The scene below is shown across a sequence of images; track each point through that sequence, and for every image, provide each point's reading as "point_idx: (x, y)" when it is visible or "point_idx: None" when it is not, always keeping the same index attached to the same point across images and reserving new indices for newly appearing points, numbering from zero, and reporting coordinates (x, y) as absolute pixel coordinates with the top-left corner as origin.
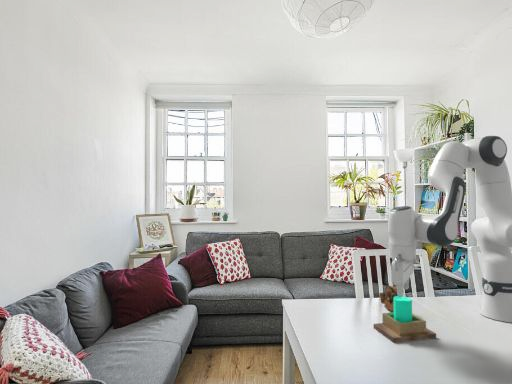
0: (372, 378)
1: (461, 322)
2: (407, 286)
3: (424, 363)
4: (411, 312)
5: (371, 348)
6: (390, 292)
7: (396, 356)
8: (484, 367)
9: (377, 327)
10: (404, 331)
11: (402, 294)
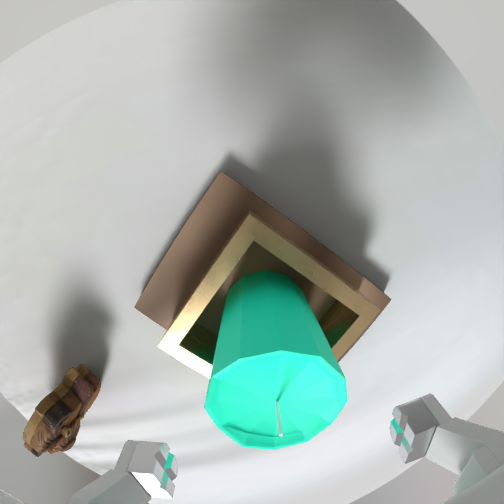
0: None
1: (12, 163)
2: (159, 462)
3: (456, 162)
4: (274, 305)
5: (449, 320)
6: (64, 442)
7: (462, 243)
8: (359, 15)
9: None
10: (347, 282)
11: (436, 402)
